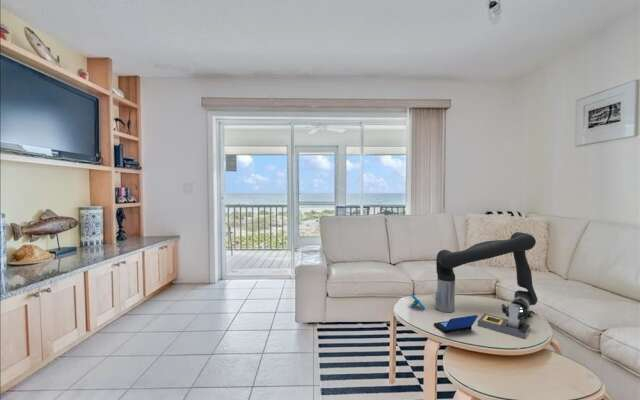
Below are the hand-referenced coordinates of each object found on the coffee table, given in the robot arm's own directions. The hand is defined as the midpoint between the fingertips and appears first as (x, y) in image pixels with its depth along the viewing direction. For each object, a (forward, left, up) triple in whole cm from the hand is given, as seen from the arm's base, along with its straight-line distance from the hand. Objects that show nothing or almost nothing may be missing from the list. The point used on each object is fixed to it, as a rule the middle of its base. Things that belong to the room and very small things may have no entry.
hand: (513, 316), depth 148 cm
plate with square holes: (-4, +3, -8) cm, 10 cm away
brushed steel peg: (0, +3, -7) cm, 8 cm away
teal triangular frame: (-47, -2, -8) cm, 47 cm away
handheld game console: (-22, -15, -8) cm, 28 cm away
